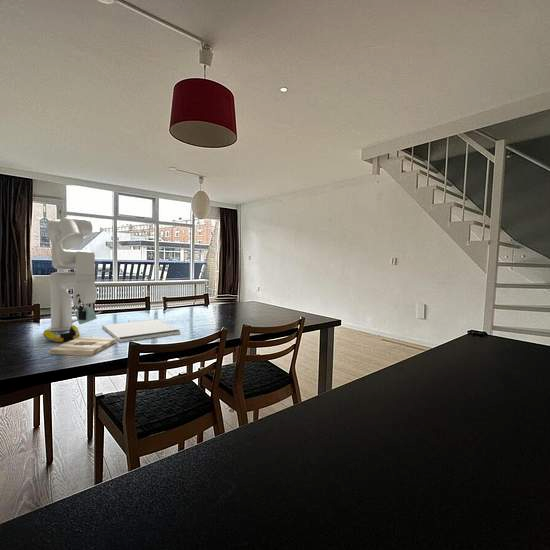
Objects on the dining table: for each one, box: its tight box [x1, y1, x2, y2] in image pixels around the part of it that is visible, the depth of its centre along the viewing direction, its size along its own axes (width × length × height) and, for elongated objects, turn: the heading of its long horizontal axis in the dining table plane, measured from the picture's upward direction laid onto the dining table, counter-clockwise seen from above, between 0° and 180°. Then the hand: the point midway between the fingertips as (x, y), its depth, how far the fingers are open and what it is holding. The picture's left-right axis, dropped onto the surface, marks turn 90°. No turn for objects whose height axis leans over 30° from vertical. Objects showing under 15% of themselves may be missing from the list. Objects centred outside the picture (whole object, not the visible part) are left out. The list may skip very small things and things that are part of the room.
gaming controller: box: [42, 325, 81, 343], centre depth 156 cm, size 15×6×10 cm
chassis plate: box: [49, 336, 118, 357], centre depth 145 cm, size 20×18×2 cm
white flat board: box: [101, 318, 181, 343], centre depth 178 cm, size 35×2×31 cm
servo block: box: [71, 304, 102, 325], centre depth 143 cm, size 4×12×7 cm, turn 88°
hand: (85, 318), depth 143 cm, fingers closed on servo block, 3 cm apart
